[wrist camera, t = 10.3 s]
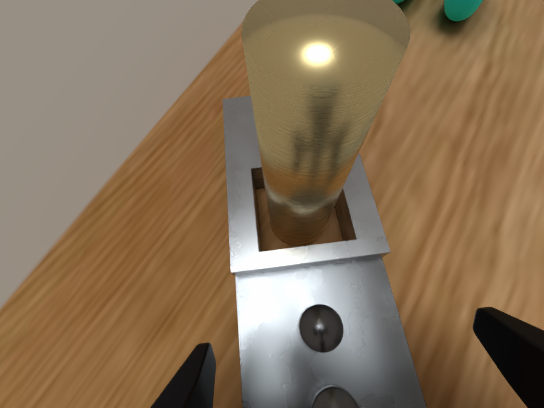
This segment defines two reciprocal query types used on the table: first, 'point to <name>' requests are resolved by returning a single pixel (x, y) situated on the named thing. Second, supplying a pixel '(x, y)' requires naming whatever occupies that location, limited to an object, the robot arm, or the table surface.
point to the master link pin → (316, 98)
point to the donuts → (457, 8)
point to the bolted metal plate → (313, 298)
